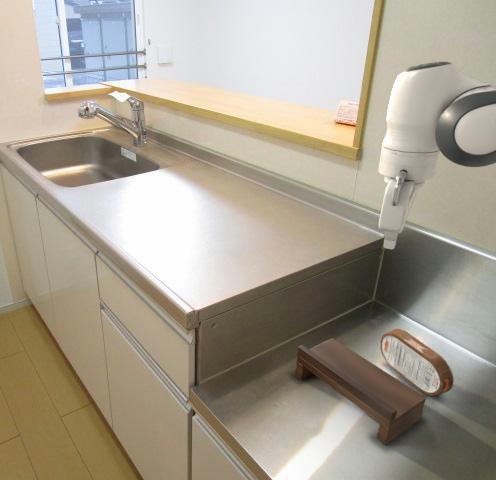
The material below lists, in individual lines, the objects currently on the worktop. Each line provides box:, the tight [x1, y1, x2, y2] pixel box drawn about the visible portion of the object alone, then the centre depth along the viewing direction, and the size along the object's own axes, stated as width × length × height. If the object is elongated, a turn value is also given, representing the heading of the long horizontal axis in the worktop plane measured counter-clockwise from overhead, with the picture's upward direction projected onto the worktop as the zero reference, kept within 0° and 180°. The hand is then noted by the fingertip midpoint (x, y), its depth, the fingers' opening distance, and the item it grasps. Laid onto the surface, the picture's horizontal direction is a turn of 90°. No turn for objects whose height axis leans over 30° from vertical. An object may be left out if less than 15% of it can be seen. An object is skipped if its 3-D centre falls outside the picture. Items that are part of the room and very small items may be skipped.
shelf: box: [294, 337, 427, 446], centre depth 83 cm, size 10×20×7 cm, turn 32°
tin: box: [379, 328, 454, 397], centre depth 86 cm, size 15×3×8 cm, turn 22°
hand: (393, 237), depth 83 cm, fingers open, 8 cm apart
